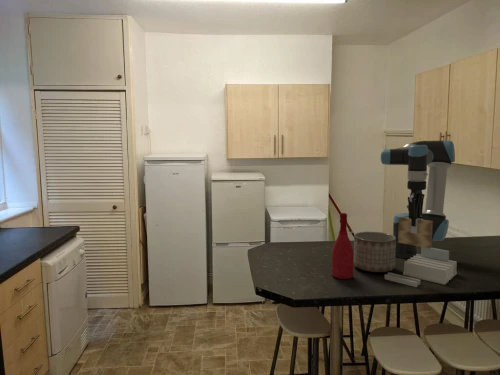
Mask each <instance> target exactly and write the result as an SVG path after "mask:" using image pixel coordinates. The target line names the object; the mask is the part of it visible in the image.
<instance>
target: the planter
mask: <svg viewBox="0 0 500 375" xmlns="http://www.w3.org/2000/svg"><path fill="white" fill-rule="evenodd" d="M395 248H396V237H395V236H393V234H390V233H386V232H381V231H380V232H379V231H360V232H359V231H358V232H356V233H354V236H353V252H354V264H353V266H354V267H356V268H358V269H359V270H363V271H366V272H372V273H386V272H387V273H389V272H391V271H393V270H395V268H396V266H395V265H396V257H395Z"/></svg>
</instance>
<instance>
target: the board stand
mask: <svg viewBox="0 0 500 375" xmlns="http://www.w3.org/2000/svg"><path fill="white" fill-rule="evenodd" d="M384 280H387V281H390V282H395V283H399V284H401V285H402V284H403V285H405V286H410V287H414V288H418V286H421V279H419V278H415V277H410V276H406V275H403V274H397V273H393V272H391V271H388V272H387V274H386V273H385V274H384Z"/></svg>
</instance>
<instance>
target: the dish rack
mask: <svg viewBox="0 0 500 375" xmlns="http://www.w3.org/2000/svg"><path fill="white" fill-rule="evenodd" d="M403 263H404V264H403V272H402V276H406V277H410V278H415V279H419V280H423V281H428V282H432V283H437V284H441V285H447V284H448V283H449V280H450V281H451V280H452V279H453V278H454V277H455V276H456V275H457V264H458V263H457V261H455V260H450V250H447V249H441V248H435V247H431V248H425V247H421V248H420V253H419V254H416V256H413V258H412V257H411V258H407V260H405V261H404V262H403Z"/></svg>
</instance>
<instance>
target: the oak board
mask: <svg viewBox="0 0 500 375" xmlns="http://www.w3.org/2000/svg"><path fill="white" fill-rule="evenodd" d="M432 226H433V221H430V220H423V219H418V227H417V234H415V233H410V231H411V219H409V218H408V217H401V216H400V217H399V228H398V243H404V244H409V245H414V246H417V247H425V248H433V246H432V242H433V240H432Z"/></svg>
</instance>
